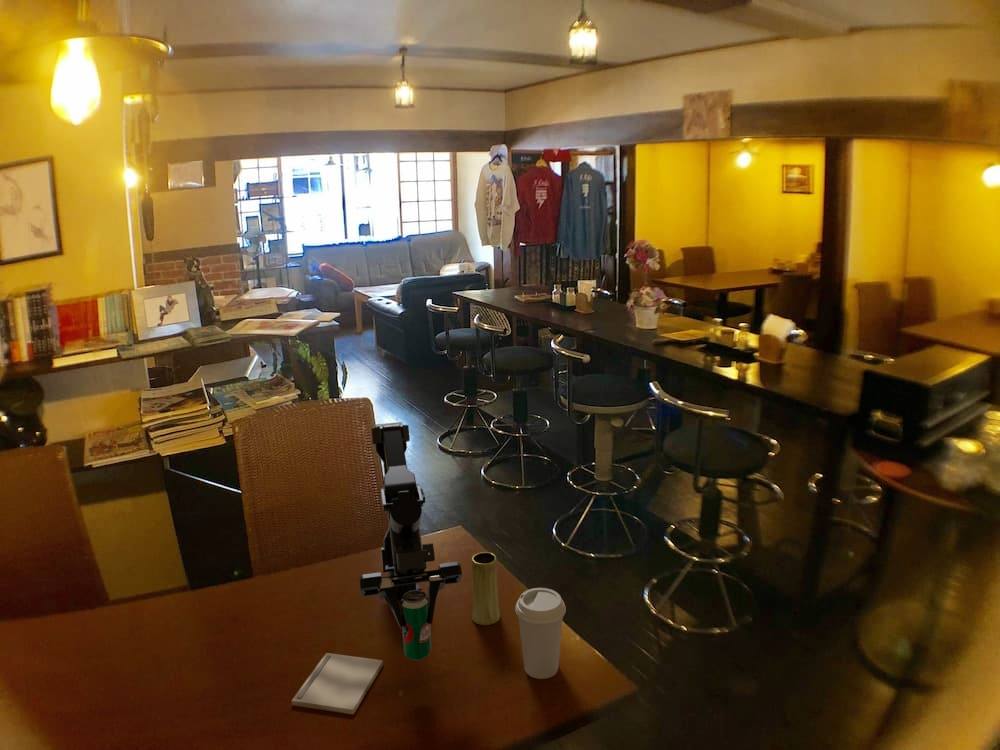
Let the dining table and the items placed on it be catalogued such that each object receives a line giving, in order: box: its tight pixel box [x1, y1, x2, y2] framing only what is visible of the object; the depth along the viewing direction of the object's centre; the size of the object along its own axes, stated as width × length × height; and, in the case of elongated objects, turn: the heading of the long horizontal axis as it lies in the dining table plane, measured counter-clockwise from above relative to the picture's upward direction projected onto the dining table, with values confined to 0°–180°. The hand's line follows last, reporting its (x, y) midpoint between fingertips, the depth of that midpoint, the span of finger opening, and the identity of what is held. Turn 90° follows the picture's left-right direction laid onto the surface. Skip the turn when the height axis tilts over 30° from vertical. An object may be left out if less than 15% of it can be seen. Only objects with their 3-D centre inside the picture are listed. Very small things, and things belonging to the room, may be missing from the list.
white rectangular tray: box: [291, 652, 384, 715], centre depth 138 cm, size 14×12×1 cm
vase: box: [471, 551, 501, 626], centre depth 157 cm, size 6×6×14 cm
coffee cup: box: [514, 587, 567, 680], centre depth 140 cm, size 10×10×15 cm
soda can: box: [400, 589, 432, 661], centre depth 135 cm, size 5×5×12 cm
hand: (416, 626), depth 133 cm, fingers closed on soda can, 5 cm apart
